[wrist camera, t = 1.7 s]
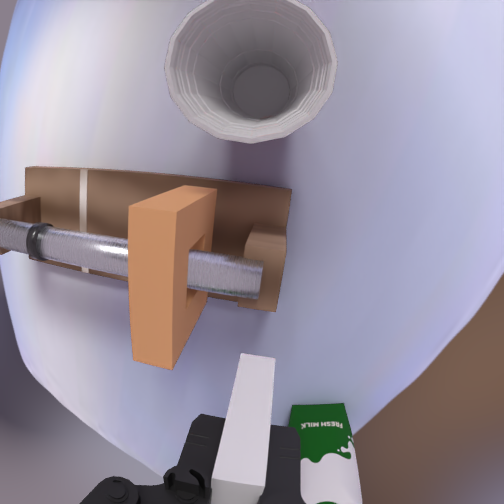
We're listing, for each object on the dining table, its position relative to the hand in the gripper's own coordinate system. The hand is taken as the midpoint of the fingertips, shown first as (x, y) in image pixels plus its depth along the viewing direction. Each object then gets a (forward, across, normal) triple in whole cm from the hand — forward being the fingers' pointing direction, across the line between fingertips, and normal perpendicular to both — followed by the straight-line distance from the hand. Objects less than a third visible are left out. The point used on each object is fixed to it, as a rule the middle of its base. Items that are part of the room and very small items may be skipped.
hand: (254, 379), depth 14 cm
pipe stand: (+20, -15, 0) cm, 25 cm away
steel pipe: (+13, -15, 0) cm, 20 cm away
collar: (+16, -7, 0) cm, 18 cm away
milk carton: (+20, +10, -24) cm, 33 cm away
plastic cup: (+20, -3, +16) cm, 25 cm away
